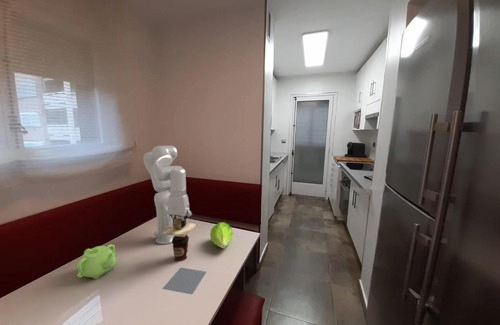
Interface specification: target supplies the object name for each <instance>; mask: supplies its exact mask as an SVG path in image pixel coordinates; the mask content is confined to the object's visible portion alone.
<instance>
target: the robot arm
mask: <svg viewBox="0 0 500 325" xmlns="http://www.w3.org/2000/svg"><path fill="white" fill-rule="evenodd" d="M177 157H178V150H177V148H176V147H175V146H174V145H157V146H155V147H153V148H152V150H151V151H149V152H148V151H147V152H146V153H145V154H144V155H143V163H144V166H145V168H146V170H147V172H148V173H149V175H150V178H151V179H150V180H151V183H152V187H153V189H154V191H156V192H157V193H155V195H154V197H153V200H154V205H155V210H156V221H157V222H156V226H157V231H156V230H155V231H154V232H153V236H154V237H156V238H155V243H156V244H157V245H168V244H171V243H172V239H173V237H174V236H173V235H166V234H162V231H164V230H165V229H166V228H168V227H169V226H170V225H172V224H173V227H174V219H175V218H177V217H182V221H181V228H183V227H185V226H186V223H187V219H188V218H189V217H191V216H192V215H193V213H192V211H191V210H190V202H189V196H188V194H187V180H186V179H187V178H186V177H187V176H186V175H187V174H186V173H187V172H186V169H184V168H183V167H182V166H180V165H171V164H172V163H173V161H174V160H175V159H176V158H177Z"/></svg>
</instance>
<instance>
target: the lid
mask: <svg viewBox="0 0 500 325" xmlns="http://www.w3.org/2000/svg"><path fill="white" fill-rule="evenodd" d="M181 221H182V217H181V216H177V218H175V219H174V227H173V224H172V225H170V226H169V227H168V228H166V229H165V230H164V231H162V234H166V235H173V236H180V237H184V236H186V235H187V236H188V233H190V232H192V230H193V229H194V228H195V227H196V226H197V224H196V223H190V222H186V226H185V227H183V228H181Z"/></svg>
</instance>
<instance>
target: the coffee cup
mask: <svg viewBox="0 0 500 325" xmlns="http://www.w3.org/2000/svg"><path fill="white" fill-rule="evenodd" d="M189 238H190V237H189V236H188V234H187V235H186V236H184V237H180V236H174V237H173V239H172V250H173V255H174V261H176V262H183V261H185V260H187V259H188V256H187V253H188V250H189Z"/></svg>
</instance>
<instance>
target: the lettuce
mask: <svg viewBox="0 0 500 325" xmlns="http://www.w3.org/2000/svg"><path fill="white" fill-rule="evenodd" d="M232 228H233V227H232V226H230V225H229V224H228V223H226V222H222V221H221V222H218V223H216V224H215V225H214V226H213V227H212V228H211V229H210V233H209V236H210V237H209V238H210V241H211V242H212V243H213V244H214V245H215V246H216V247H219V248H221V249H225V248H226V247H227V245H229V244H230V242H231V241H232V240H233V236H234V233H233V230H232Z"/></svg>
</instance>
